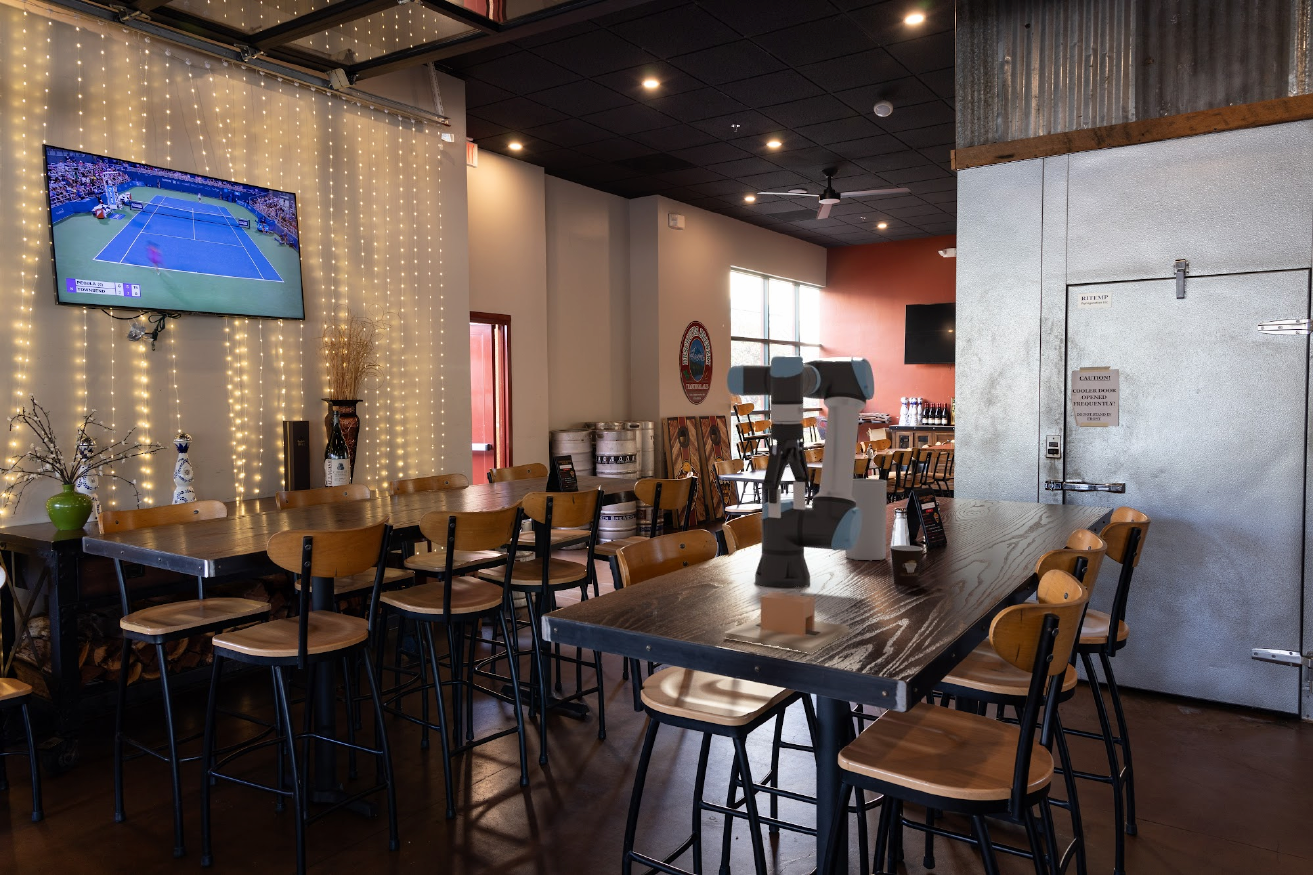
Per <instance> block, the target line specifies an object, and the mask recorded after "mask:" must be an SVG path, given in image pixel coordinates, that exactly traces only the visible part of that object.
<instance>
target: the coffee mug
mask: <svg viewBox="0 0 1313 875" xmlns="http://www.w3.org/2000/svg"><path fill="white" fill-rule="evenodd" d="M889 549H890V556H891V558H890V559H891V567H892V578H893V584H894V585H896V586H901V587H916V586H918V585H919V579H920V575H921V574H922V573H924V572H925V571H927V570H929V568H931V566H932V565H933V564H934V563H935V561H936V558H935V555H934V554H933V553H932V552H929V551H926V552H923V549H924V548H922V547H920V546H918V545H917V546H915V545H908V544H907V545H903V544H900V545H898V544H897V545H891V546H890V548H889ZM926 555H930V556H931V557H932V561H931V562H930V564H928V565H927V566H926V567H924V568H923V569H922V570H921V566H922V565H921V564H922V559H923V558H924V557H925V556H926Z"/></svg>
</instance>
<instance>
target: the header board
mask: <svg viewBox="0 0 1313 875" xmlns="http://www.w3.org/2000/svg"><path fill="white" fill-rule="evenodd" d="M847 633H848V634H850V625H843V624H837V623H831V622H825V621H818V620H814V631H811V630H805V635H804V636H801V635H795V634H789V633H784V632H778V631H772V630H766V629H761V615H760V616H758V617H755V618H754V619H751V620H749V621H746V622H744V623H742V624H740V625H737V626H735V627H733V628H731V629H728V630H726V631H724V632H723V638H724V637H726V638H729V639H737V640H741V641H748V642H752V643H761V644H763V645H771V646H779V647H782V648H789V649H792V650H798V651H801V652H807V653H811V654H812V653H813V652H815V651H817V650H819V649H820V648H822V647H824V646H826V645H828V644H829V643H831V644H832V642H833V641H835V640H836V639H838V640H839V638H840V637H841V638H843V637H845V636H847V635H848V634H847ZM846 634H847V635H846ZM844 635H845V636H844ZM841 638H840V639H841ZM836 641H837V640H836ZM836 641H835V642H836ZM833 643H834V642H833ZM829 645H830V644H829ZM829 645H828V646H829ZM826 647H827V646H826ZM824 648H825V647H824ZM822 649H823V648H822ZM819 651H820V650H819ZM817 652H818V651H817ZM812 655H813V654H812Z"/></svg>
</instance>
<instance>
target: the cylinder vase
mask: <svg viewBox="0 0 1313 875" xmlns="http://www.w3.org/2000/svg"><path fill="white" fill-rule="evenodd" d="M887 483H888V482H887V480H886V479H885V480H884V479H877V478H876V479H875V478H853V483H852V493H851V495H852V497H853V499H854V500H855V501H856V507H858V508H859V509H860V510H861V513H862V519H861V520H862V525H861V530H860V534H859V537H858V540H857V542H856V544H855V545H854V547H853V548H851V549H850V550H845V552H844V553H845V557H846V558H847V559H849V560H852V559H854V560H853V561H858V560H870V561H869V562H873V561H872V560H880V561H883V560H884V559H885V558H886V555H887V554H886V551H887V550H886V548H887V547H886V546H887V545H886V544H887V543H886V539H887V538H886V536H887V535H886V534H887V488H888V487H887Z"/></svg>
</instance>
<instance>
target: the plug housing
mask: <svg viewBox="0 0 1313 875" xmlns="http://www.w3.org/2000/svg"><path fill="white" fill-rule="evenodd" d="M815 599H816V598H815V597H813V596H804V595H799V594H790V593H783V592H777V591H776V592H775V591H771V592H769V593H767V594H763V595H761V596H760V616H761V629H766V630H772V631H778V632H784V633H789V634H795V635H801V636H804V635H805V630H811V631H814V621H816V620H815V619H816V618H815V613H816V612H815V610H816V609H815V608H816V607H815V606H816V605H815V604H816V603H815V602H816V600H815Z"/></svg>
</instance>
